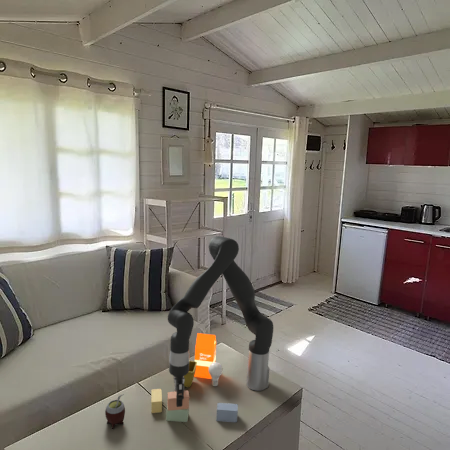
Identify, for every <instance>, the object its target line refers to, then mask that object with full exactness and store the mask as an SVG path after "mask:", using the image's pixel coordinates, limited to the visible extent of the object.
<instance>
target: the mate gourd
mask: <svg viewBox="0 0 450 450" xmlns="http://www.w3.org/2000/svg"><path fill="white" fill-rule="evenodd" d="M124 395H125V394H124V393H123V394H120V395H118V397H117V399H114V400H111V401H109V403H108V404H107V405H106V407H105V410H104V411H105V412H104V414H105V419H106V420H107V421H106V424H109V425H111V429H110V430H115V427H116V425H124V420H125V414H126V408H125V407H126V406H125V404H124V402H122V400H120V399H121V397H122V396H124Z"/></svg>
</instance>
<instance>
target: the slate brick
mask: <svg viewBox="0 0 450 450" xmlns="http://www.w3.org/2000/svg"><path fill="white" fill-rule="evenodd" d="M238 407H239V406H238V404H237V403H228V402H227V403H226V402H217V404H216V417H215V419H216V420H215V421H216V422H224V423H225V422H228V423H237V422H238Z"/></svg>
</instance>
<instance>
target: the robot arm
mask: <svg viewBox="0 0 450 450" xmlns="http://www.w3.org/2000/svg"><path fill="white" fill-rule="evenodd" d="M208 244H209V245H208V250H209V254H210V256H211V258H212V259H213V262H212V263H211V265H210V266H209V267H208V268H207V269H206V270H205V271H203V272H202V273H201V274H200V275H198V277H196V278H195V279H194V280H193V281H192V283H191V285H190V286H189V287H188V289H187V291H186V293H185V294H184V295H183V297H181V298H180V299H178V301H177V302H176V303H175V304H174V305H173V306H172V307H171V309H170V310H169V312H168V314H167V322H168V323H169V325H171V326H172V327H174V328H175V329H176V332H174V333H172V334H171V336H170V349H169V350H170V351H169V358H168V359H169V363H168V364H169V365H168V368H169V369H168V372H169V373H170V375H171V376H173V383H174V392H176V406H177V407H181V406H182V402H183V399H184V391H185V387H184V382H185V378H184V376H185V375H186V374H187V373H188V372H189V361H190V355H191V354H190V338H191V336H192V333H193V329H194V324H195V323H194V322H195V321H194V317H193V315H192V314H191V313H190V312H189V311H190V310H191V309H198V308H199V307H200V306H201V304H202V303H203V302H204V300H205V298H206V296H207V295H208V293H210V290H211V289H212V287H213V286H214V284H215V283H216V282H217V281H218V279H220V277H221V276H222V275H223V278H224V280H225V282H226V284H227V286H228V289H229V290H230V293H231V294H232V297H233V298H234V300H235V302H236V304H237V306H238V307H239V309H240V311H241V314H242V315H243V316H242V317H243V319H244V322H245V324H246V327H247V329H248V331H249V332H250V333H252V334H253V335H255V337H254V339H252V340H250V341H249V344H248V353H247V355H248V356H247V368H246V370H247V371H246V386H247V387H248V388H249V389H250V390H253V391H258V392H259V391H260V392H261V391H264V390H265V389H267V388H269V380H270V367H269V361H270V360H269V359H270V358H269V357H270V350H271V349H270V348H271V346H272V343H273V336H274V322H273V321H272V319H270V318H269V317H267V316H265V315H264V314H262V313H261V312H260V310H259V308H258V306H257V304H256V302H255V300H256V299H255V298H256V292H255V288H254V286H253V284H252V282H251V279H250V278H249V276H248V275H247V274H246V273H245V271H244V270H243V269H242V268H241V267H240V266H239V265H238V264H237V263H236V262H235V259H236V258H237V256H238V254H239V250H240V247H239V244H238V242H237V241H236V240H235V239H233V238H231V237H225V236H220V235H219V236H214V237H212V238H211V240H210V241H209V243H208ZM178 394H179V395H178Z"/></svg>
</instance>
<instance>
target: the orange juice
mask: <svg viewBox="0 0 450 450" xmlns="http://www.w3.org/2000/svg"><path fill="white" fill-rule="evenodd" d="M216 337H217V336H216V334H210V333H209V334H208V333H200V332H197V334H196V340H195V347H194V361H195V362H197V365H196V371H195V375H194V378H199V379H200V378H201V379H209V380H212V378H211V375H210V374H209V371H208V369H209V366H210V364H211V363H213V362H217V361H216V360H217V357H216V356H217V339H216Z"/></svg>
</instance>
